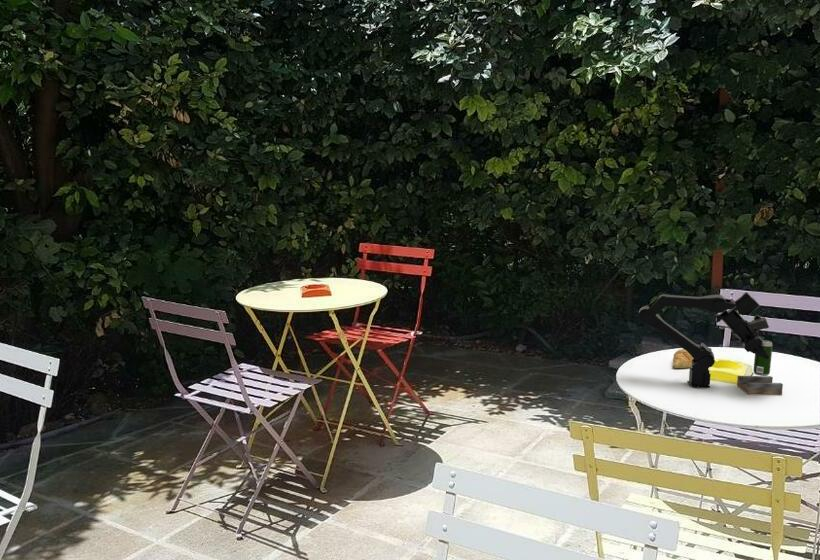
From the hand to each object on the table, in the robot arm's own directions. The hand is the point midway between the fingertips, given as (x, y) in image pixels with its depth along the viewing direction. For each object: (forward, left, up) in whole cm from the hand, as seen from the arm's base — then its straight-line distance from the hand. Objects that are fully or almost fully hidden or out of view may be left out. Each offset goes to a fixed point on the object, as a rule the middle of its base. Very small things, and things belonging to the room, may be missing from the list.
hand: (767, 356), depth 261 cm
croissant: (-17, +35, -14) cm, 41 cm away
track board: (-1, +2, -13) cm, 13 cm away
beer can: (-1, 0, -7) cm, 7 cm away
